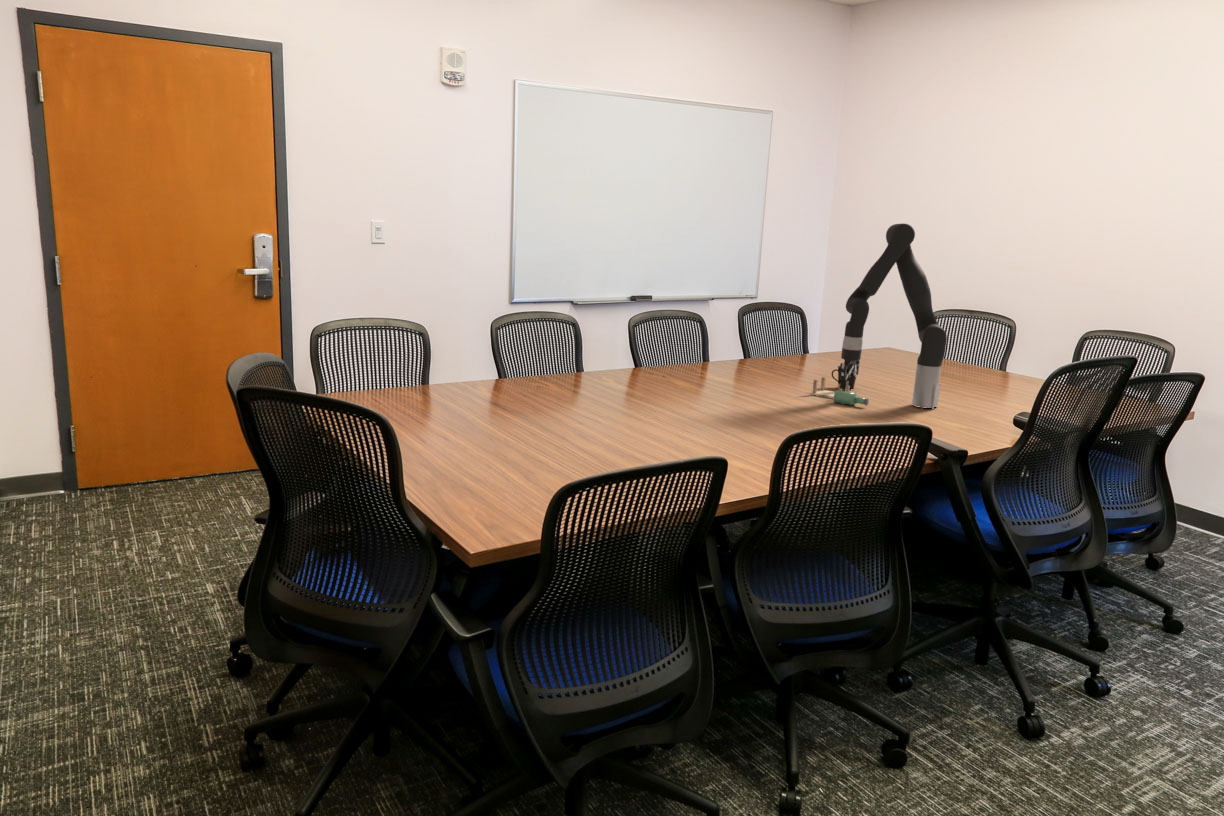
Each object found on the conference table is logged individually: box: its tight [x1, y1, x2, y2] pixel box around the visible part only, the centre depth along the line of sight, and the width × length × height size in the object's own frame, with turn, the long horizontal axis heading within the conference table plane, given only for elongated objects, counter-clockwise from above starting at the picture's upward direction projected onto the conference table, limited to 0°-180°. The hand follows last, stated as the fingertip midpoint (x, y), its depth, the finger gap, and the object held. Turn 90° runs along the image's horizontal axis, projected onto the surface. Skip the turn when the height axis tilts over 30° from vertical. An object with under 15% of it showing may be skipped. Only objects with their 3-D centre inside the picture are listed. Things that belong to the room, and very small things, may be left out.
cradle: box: [810, 376, 850, 399], centre depth 364 cm, size 13×10×6 cm
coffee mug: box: [831, 364, 858, 391], centre depth 380 cm, size 12×9×10 cm
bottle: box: [833, 389, 870, 406], centre depth 349 cm, size 13×5×5 cm
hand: (846, 387), depth 351 cm, fingers open, 8 cm apart
